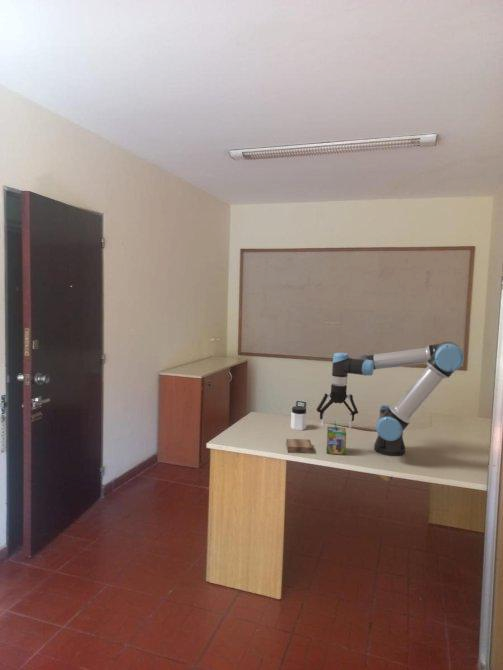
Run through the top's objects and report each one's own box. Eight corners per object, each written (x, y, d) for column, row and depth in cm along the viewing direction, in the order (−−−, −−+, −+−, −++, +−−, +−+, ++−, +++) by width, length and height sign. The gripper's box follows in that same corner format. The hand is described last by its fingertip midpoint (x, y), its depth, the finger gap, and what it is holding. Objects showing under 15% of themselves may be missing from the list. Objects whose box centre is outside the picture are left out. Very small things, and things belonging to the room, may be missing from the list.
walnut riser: (309, 445, 237) (309, 439, 236) (312, 453, 225) (312, 447, 224) (286, 444, 237) (286, 438, 236) (288, 452, 225) (288, 446, 224)
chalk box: (345, 455, 223) (347, 426, 222) (326, 454, 225) (327, 424, 223) (344, 449, 233) (346, 420, 231) (326, 447, 234) (327, 419, 232)
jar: (296, 425, 272) (297, 405, 270) (308, 428, 266) (309, 407, 265) (288, 428, 265) (288, 407, 263) (300, 431, 260) (301, 410, 258)
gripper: (362, 383, 229) (359, 425, 231) (312, 381, 229) (310, 422, 231) (366, 387, 222) (363, 429, 224) (314, 384, 222) (312, 427, 224)
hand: (336, 426), depth 228 cm, fingers open, 13 cm apart
